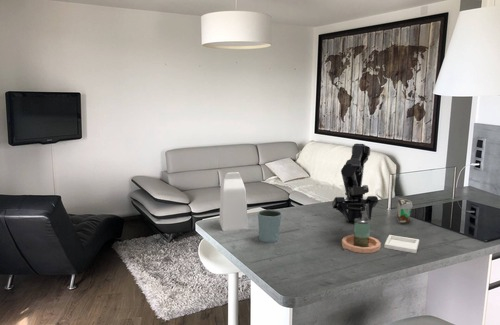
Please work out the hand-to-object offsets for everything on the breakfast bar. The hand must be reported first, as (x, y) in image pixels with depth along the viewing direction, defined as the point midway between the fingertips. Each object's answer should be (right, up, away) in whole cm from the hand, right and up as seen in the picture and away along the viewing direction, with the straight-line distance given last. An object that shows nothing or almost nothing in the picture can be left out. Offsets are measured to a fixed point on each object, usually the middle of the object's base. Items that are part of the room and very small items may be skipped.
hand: (359, 220), depth 166 cm
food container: (+31, -5, +31) cm, 44 cm away
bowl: (0, -11, -2) cm, 11 cm away
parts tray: (+17, -11, -1) cm, 21 cm away
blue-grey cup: (-37, -10, +8) cm, 39 cm away
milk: (-54, -6, +25) cm, 60 cm away
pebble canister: (0, -10, -2) cm, 10 cm away
